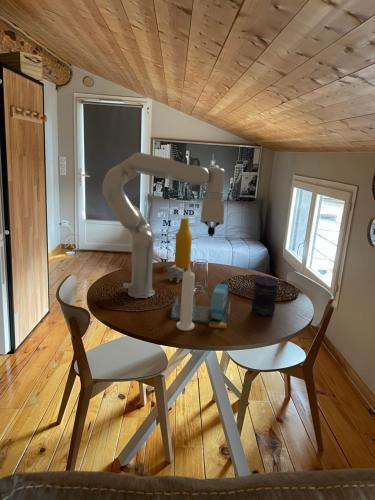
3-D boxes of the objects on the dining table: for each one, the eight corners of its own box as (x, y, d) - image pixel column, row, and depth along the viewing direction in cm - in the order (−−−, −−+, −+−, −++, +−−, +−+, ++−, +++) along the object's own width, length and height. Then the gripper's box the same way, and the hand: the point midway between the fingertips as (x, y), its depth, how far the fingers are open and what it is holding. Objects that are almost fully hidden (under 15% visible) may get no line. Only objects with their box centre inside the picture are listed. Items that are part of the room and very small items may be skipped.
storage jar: (255, 306, 163) (259, 275, 159) (276, 312, 159) (281, 280, 154) (247, 314, 155) (251, 281, 151) (269, 320, 150) (274, 287, 146)
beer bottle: (192, 268, 210) (196, 219, 202) (179, 270, 206) (181, 220, 198) (185, 263, 218) (187, 216, 210) (171, 265, 213) (174, 217, 206)
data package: (220, 322, 144) (223, 294, 141) (209, 319, 145) (212, 292, 142) (226, 310, 155) (228, 284, 152) (216, 308, 156) (218, 282, 153)
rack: (169, 321, 144) (170, 310, 142) (176, 305, 159) (177, 294, 158) (228, 328, 141) (229, 317, 140) (229, 311, 157) (230, 300, 155)
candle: (176, 322, 144) (179, 262, 137) (193, 322, 144) (197, 263, 138) (176, 330, 137) (180, 268, 130) (195, 331, 138) (199, 269, 131)
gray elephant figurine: (182, 284, 185) (184, 270, 183) (159, 280, 187) (161, 266, 185) (186, 279, 194) (187, 265, 192) (164, 275, 196) (166, 261, 193)
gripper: (196, 195, 158) (193, 236, 163) (230, 198, 156) (226, 239, 161) (198, 193, 165) (195, 232, 170) (231, 196, 163) (227, 235, 168)
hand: (210, 235), depth 165 cm, fingers closed
